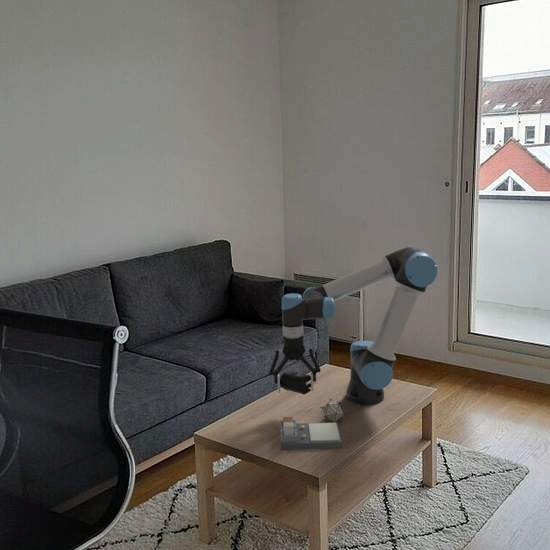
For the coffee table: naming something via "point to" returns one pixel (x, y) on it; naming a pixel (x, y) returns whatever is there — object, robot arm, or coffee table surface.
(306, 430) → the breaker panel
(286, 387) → the end cap
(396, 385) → the coffee table surface
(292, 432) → the off-white switch
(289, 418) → the terracotta switch
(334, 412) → the game die
